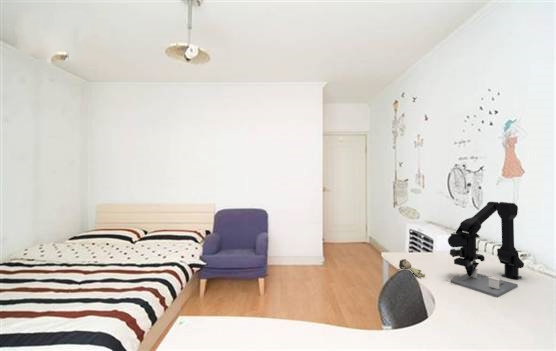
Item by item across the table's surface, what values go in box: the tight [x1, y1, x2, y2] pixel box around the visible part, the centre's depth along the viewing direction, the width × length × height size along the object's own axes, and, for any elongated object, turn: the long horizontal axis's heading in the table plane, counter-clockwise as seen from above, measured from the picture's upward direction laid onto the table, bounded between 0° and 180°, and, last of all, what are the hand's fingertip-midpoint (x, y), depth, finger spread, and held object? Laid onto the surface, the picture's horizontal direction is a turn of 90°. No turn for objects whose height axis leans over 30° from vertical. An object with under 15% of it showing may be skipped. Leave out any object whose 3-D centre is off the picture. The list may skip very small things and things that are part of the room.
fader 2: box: [488, 276, 501, 289], centre depth 130 cm, size 2×4×4 cm, turn 30°
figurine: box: [398, 258, 426, 279], centre depth 153 cm, size 8×6×15 cm
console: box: [449, 272, 519, 298], centre depth 137 cm, size 22×20×2 cm
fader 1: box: [471, 268, 478, 278], centre depth 143 cm, size 2×4×4 cm, turn 30°
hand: (469, 276), depth 142 cm, fingers closed
